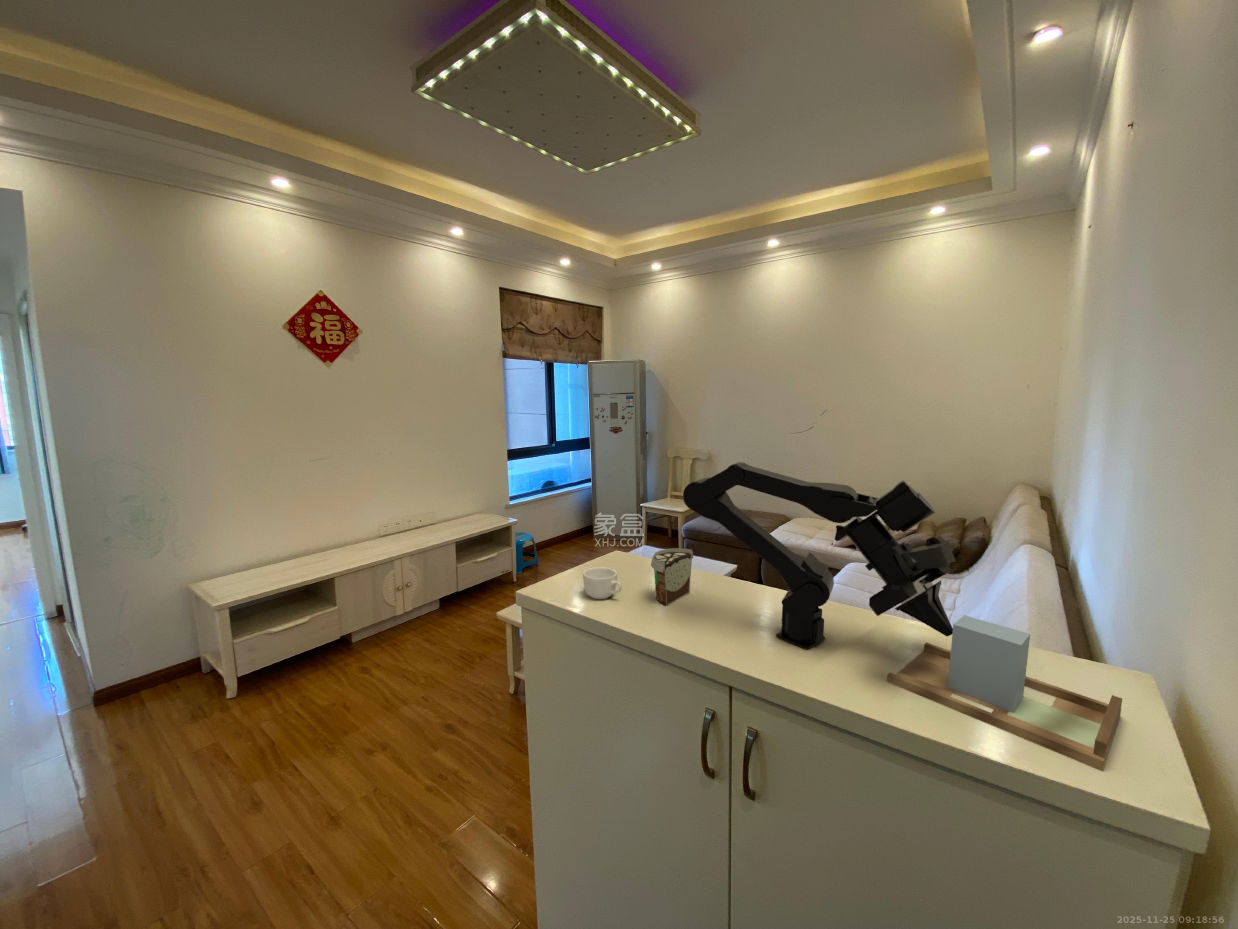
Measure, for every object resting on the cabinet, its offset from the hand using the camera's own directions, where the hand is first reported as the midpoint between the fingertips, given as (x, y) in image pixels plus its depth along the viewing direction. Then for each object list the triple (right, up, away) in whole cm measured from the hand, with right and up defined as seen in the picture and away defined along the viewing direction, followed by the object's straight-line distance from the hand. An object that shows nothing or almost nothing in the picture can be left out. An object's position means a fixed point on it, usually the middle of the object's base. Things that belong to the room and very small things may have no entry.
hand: (950, 634), depth 76 cm
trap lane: (+4, -9, -4) cm, 10 cm away
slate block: (+3, -8, -3) cm, 9 cm away
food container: (-40, -4, +36) cm, 54 cm away
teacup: (-54, -4, +36) cm, 65 cm away
